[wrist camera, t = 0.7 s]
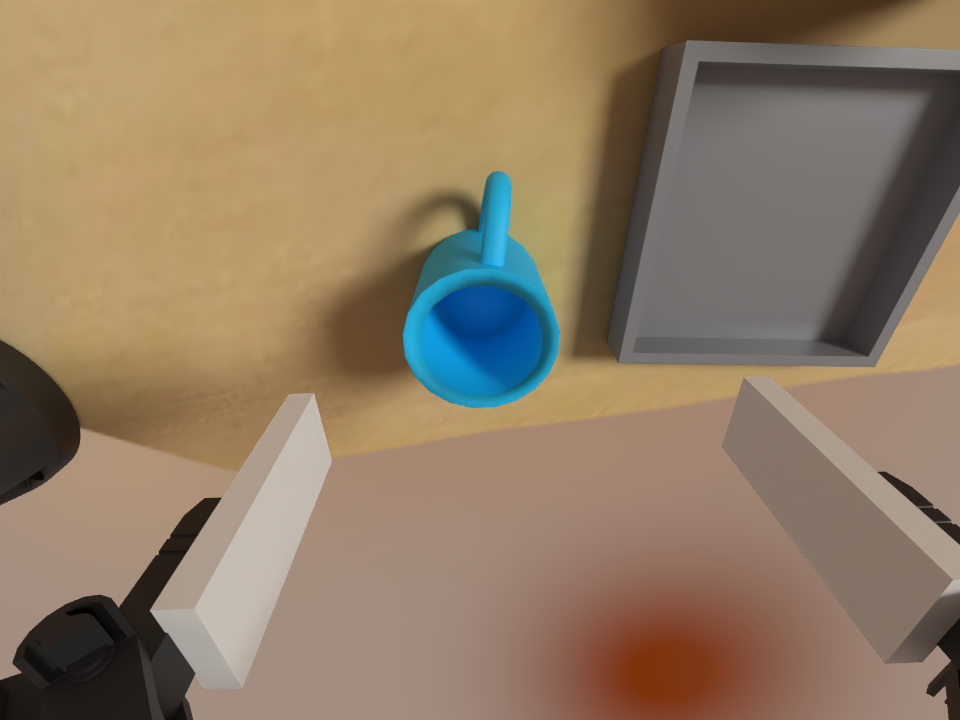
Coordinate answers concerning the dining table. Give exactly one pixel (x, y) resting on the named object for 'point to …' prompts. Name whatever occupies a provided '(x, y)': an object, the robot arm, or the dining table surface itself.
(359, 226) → the dining table surface
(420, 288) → the mug
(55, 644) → the robot arm
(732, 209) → the tray
